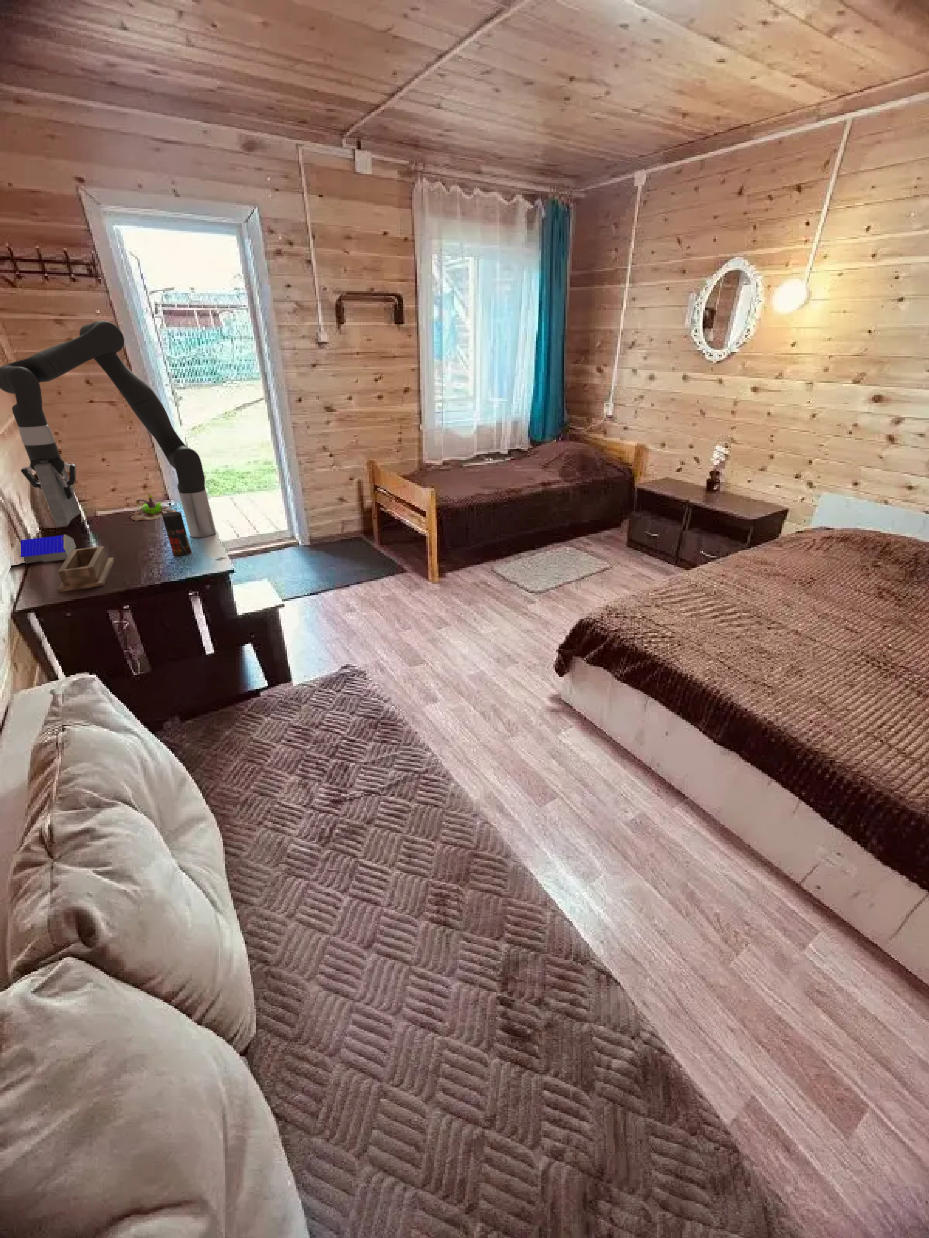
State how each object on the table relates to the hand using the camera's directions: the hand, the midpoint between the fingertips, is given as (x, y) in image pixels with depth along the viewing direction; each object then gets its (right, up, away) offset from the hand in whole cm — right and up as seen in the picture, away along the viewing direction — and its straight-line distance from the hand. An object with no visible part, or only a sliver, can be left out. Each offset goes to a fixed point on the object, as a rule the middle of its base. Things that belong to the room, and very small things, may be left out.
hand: (60, 499), depth 161 cm
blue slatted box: (-29, -15, +26) cm, 42 cm away
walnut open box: (0, -22, +12) cm, 25 cm away
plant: (-12, +7, +69) cm, 70 cm away
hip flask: (0, -6, +3) cm, 6 cm away
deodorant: (+22, -14, +28) cm, 39 cm away
